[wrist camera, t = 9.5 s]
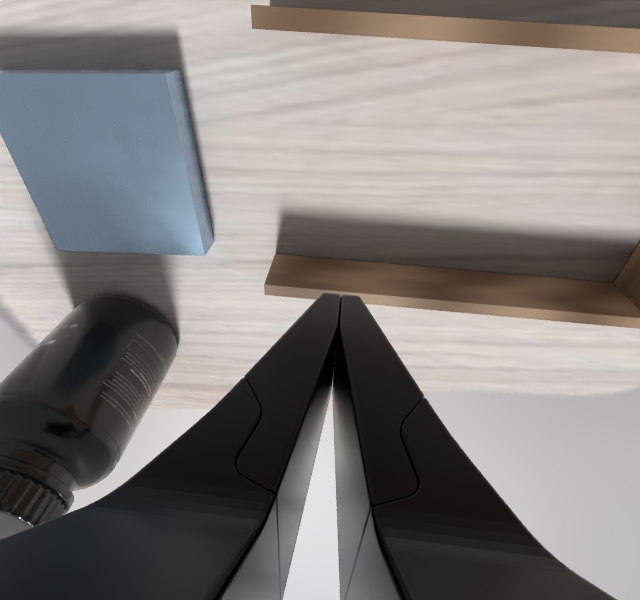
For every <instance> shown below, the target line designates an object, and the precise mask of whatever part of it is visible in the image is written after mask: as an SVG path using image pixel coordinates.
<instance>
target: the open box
mask: <svg viewBox="0 0 640 600" xmlns="http://www.w3.org/2000/svg"><path fill="white" fill-rule="evenodd" d="M251 16H252V29H266V30H282V31H298V32H313V33H329V34H344V35H360V36H376V37H391V38H407V39H423V40H438V41H454V42H470V43H485V44H501V45H516V46H532V47H548V48H563V49H579V50H595V51H610V52H626V53H640V29H634V28H618V27H602V26H586V25H570V24H553V23H537V22H521V21H505V20H488V19H472V18H456V17H440V16H424V15H407V14H391V13H375V12H359V11H343V10H326V9H310V8H294V7H278V6H261V5H251ZM264 289H265V295H273V296H284V297H295V298H306V299H318V298H319V297H320V295H321V294H322V293H335V294H340V296H342V295H344V294H345V295H356V296H359V297H360V298H361V299H362V301H363V302H364V304H373V305H384V306H395V307H406V308H417V309H428V310H439V311H451V312H462V313H473V314H484V315H495V316H506V317H517V318H528V319H539V320H551V321H562V322H573V323H584V324H595V325H606V326H617V327H628V328H639V329H640V241H639V243H638V245H637V246H636V248H635V249H634V251H633V252H632V254H631V256H630V257H629V259H628V260H627V262H626V264H625V265H624V267H623V268H622V270H621V272H620V273H619V275H618V276H617V278H616V279H615V281H614V283H610V282H599V281H587V280H575V279H564V278H552V277H540V276H529V275H517V274H505V273H494V272H482V271H471V270H459V269H447V268H436V267H424V266H412V265H401V264H389V263H377V262H366V261H354V260H342V259H331V258H319V257H307V256H296V255H284V254H275V256H274V259H273V262H272V265H271V267H270V270H269V273H268V276H267V279H266V281H265V284H264Z"/></svg>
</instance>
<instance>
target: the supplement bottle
mask: <svg viewBox="0 0 640 600" xmlns="http://www.w3.org/2000/svg"><path fill="white" fill-rule="evenodd" d="M176 352H177V343H176V338H175V335H174V333H173V331H172V329H171V327H170V326H169V324H168V323H167V322H166V321H165V320H164V319H163V318H162V317H161V316H160V315H159V314H158V313H157V312H156V311H154V310H153V309H151V308H150V307H148V306H147V305H145V304H143V303H141V302H139V301H136V300H134V299H131V298H127V297H123V296H118V295H99V296H95V297H91V298H89V299H87V300H85V301H83V302H82V303H80V304H79V305H78V306H77V307H76V308H75V309H74V310H73V311H72V312H71V313H70V314H69V315H67V316H66V317H65V318H64V319H63V320H62V322H61V323H60V324H59V325H58V326H57V327H56V328H55V329H54V330H53V331H52V332H51V333H50V334H49V335H48V336H47V337H46V338H45V339H44V340H43V341H42V342H41V343H40V344H39V345H38V346H37V347H36V348H35V349H34V350H33V351H32V352H31V353H30V354H29V355H28V356H27V357H26V358H25V359H24V360H23V361H22V362H21V363H20V364H19V365H18V366H17V367H16V368H15V369H14V370H13V371H12V372H11V373H10V374H9V375H8V376H7V377H6V378H5V379H4V380H3V381H2V382H1V383H0V539H1V538H4V537H7V536H9V535H12V534H15V533H17V532H20V531H23V530H25V529H28V528H30V527H33V526H36V525H38V524H41V523H44V522H46V521H49V520H52V519H54V518H57V517H60V516H62V515H64V514H65V513H67V512H68V510H69V509H70V507H71V505H72V503H73V501H74V496H73V493H72V491H75V490H80V489H84V488H87V487H90V486H92V485H95V484H97V483H98V482H100V481H101V480H103V479H104V478H105V477H107V476H108V475H109V474H110V473H111V472H112V471H113V469H114V468H115V466H116V464H117V463H118V461H119V459H120V458H121V456H122V454H123V452H124V450H125V449H126V447H127V445H128V443H129V441H130V440H131V438H132V436H133V434H134V432H135V431H136V429H137V427H138V425H139V423H140V422H141V420H142V418H143V416H144V414H145V412H146V411H147V409H148V407H149V405H150V403H151V402H152V400H153V398H154V396H155V394H156V392H157V391H158V389H159V387H160V385H161V383H162V382H163V380H164V378H165V376H166V374H167V373H168V370H169V369H170V367H171V365H172V363H173V361H174V359H175V356H176Z"/></svg>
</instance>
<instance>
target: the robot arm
mask: <svg viewBox="0 0 640 600" xmlns="http://www.w3.org/2000/svg"><path fill="white" fill-rule="evenodd" d="M340 302H341V303H340ZM334 363H335V364H334ZM333 372H334V374H333ZM332 381H333V419H334V446H335V473H336V496H337V497H336V499H337V525H338V552H339V579H340V600H617V599H615V598H613V597H612V596H610V595H609V594H607V593H606V592H604V591H603V590H601V589H599V588H598V587H596V586H595V585H593V584H592V583H590V582H589V581H587V580H585V579H584V578H582V577H581V576H579V575H578V574H576V573H575V572H573V571H572V570H570V569H569V568H568V567H566V566H565V565H564V564H563V563H561V562H560V561H559V560H558V559H557V558H555V557H554V556H553V555H552V554H551V553H550V552H549V551H548V550H547V549H545V548H544V547H543V546H542V545H541V543H539V542H538V540H536V538H535V537H534V536H533V535H532V534H531V533H530V532H529V531H528V530H527V528H526V527H525V526H524V525H523V524H522V522H521V521H520V520H519V519H518V518H517V516H516V515H515V514H514V513H513V512H512V510H511V509H510V508H509V507H508V505H507V504H506V503H505V502H504V500H503V499H502V498H501V497H500V496H499V495H498V493H497V492H496V491H495V490H494V488H493V487H492V486H491V485H490V483H489V482H488V481H487V480H486V479H485V477H484V476H483V475H482V474H481V472H480V471H479V470H478V469H477V468H476V466H475V465H474V464H473V463H472V462H471V460H470V459H469V458H468V456H467V455H466V454H465V452H464V451H463V450H462V449H461V448H460V446H459V445H458V443H457V442H456V441H455V440H454V438H453V437H452V436H451V435H450V433H449V432H448V430H447V429H446V427H445V426H444V424H443V423H442V421H441V420H440V419H439V417H438V416H437V414H436V413H435V411H434V410H433V408H432V407H431V405H430V404H429V402H428V401H427V399H426V398H424V395H423V393H422V391H421V390H420V388H419V387H418V385H417V384H416V382H415V381H414V379H413V378H412V376H411V375H410V373H409V371H408V370H407V368H406V367H405V365H404V364H403V362H402V361H401V359H400V358H399V356H398V355H397V353H396V351H395V350H394V348H393V347H392V345H391V344H390V342H389V341H388V339H387V338H386V336H385V335H384V333H383V332H382V330H381V328H380V327H379V325H378V324H377V322H376V321H375V319H374V318H373V316H372V315H371V313H370V312H369V310H368V308H367V307H366V305H365V304H364V302H363V301H362V299H361V298H360V297H359V296H356V295H345V294H344V295H342V296H340V294H335V293H322V294H321V295H320V297H319V298H318V299H317V300H316V301H315V302H314V303H313V304H312V305H311V306H310V307H309V308H308V309H307V310H306V311H305V312H304V314H303V315H302V316H301V317H300V318H299V319H298V320H297V321H296V322H295V323H294V324H293V325H292V326H291V327H290V328H289V329H288V330H287V332H286V333H285V334H284V335H283V336H282V337H281V338H280V339H279V340H278V341H277V342H276V343H275V344H274V345H273V346H272V347H271V349H270V350H269V351H268V352H267V353H266V354H265V355H264V356H263V357H262V358H261V359H260V360H259V361H258V362H257V363H256V364H255V365H254V367H253V368H252V369H251V370H250V371H249V372H248V373H247V374H246V375H245V377H244V378H242V379H241V380H240V381H239V382H238V383H237V384H236V385H235V387H234V388H233V389H232V390H231V391H230V392H229V393H228V394H227V395H226V396H225V397H224V398H223V399H222V400H221V401H220V402H219V403H218V404H217V405H216V406H215V407H214V408H213V409H211V410H210V411H209V412H208V413H207V414H206V415H205V416H203V417H202V418H201V419H200V420H199V421H198V422H197V423H196V424H194V425H193V426H192V427H191V428H190V429H189V430H187V431H186V432H185V433H184V434H183V435H182V436H181V437H179V438H178V439H177V440H176V441H174V442H173V443H172V444H171V445H170V446H169V447H167V448H166V449H165V450H164V451H163V452H161V453H160V454H159V455H158V456H157V457H155V458H154V459H153V460H152V461H151V462H149V463H148V464H147V465H146V466H145V467H144V468H142V469H141V470H140V471H139V472H138V473H136V474H135V475H134V476H133V477H131V478H130V479H129V480H128V481H126V482H125V483H124V484H123V485H121V486H120V487H118V488H117V489H115V490H114V491H113V492H111V493H109V494H108V495H106V496H104V497H103V498H101V499H100V500H98V501H96V502H94V503H92V504H90V505H88V506H86V507H83V508H81V509H78V510H75V511H73V512H70V513H68V514H65V515H62V516H60V517H57V518H54V519H52V520H49V521H46V522H44V523H41V524H38V525H36V526H33V527H30V528H28V529H25V530H23V531H20V532H17V533H15V534H12V535H9V536H7V537H4V538H1V539H0V600H282V599H283V595H284V591H285V586H286V582H287V578H288V573H289V569H290V565H291V560H292V556H293V552H294V547H295V543H296V539H297V535H298V530H299V526H300V522H301V518H302V513H303V509H304V505H305V500H306V496H307V492H308V488H309V483H310V479H311V475H312V470H313V466H314V462H315V458H316V454H317V449H318V445H319V441H320V436H321V432H322V428H323V423H324V419H325V415H326V411H327V406H328V402H329V398H330V393H331V388H332Z"/></svg>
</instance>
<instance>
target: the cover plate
mask: <svg viewBox="0 0 640 600" xmlns="http://www.w3.org/2000/svg"><path fill="white" fill-rule="evenodd" d="M0 133H1V136H2V138H3V140H4V142H5V144H6V146H7V148H8V150H9V152H10V154H11V156H12V158H13V160H14V163H15V165H16V167H17V169H18V171H19V173H20V175H21V177H22V179H23V181H24V183H25V185H26V187H27V189H28V192H29V194H30V196H31V198H32V200H33V202H34V204H35V206H36V208H37V210H38V212H39V214H40V216H41V218H42V221H43V223H44V225H45V227H46V229H47V231H48V233H49V235H50V237H51V239H52V241H53V243H54V245H55V247H56V250H62V251H88V252H115V253H142V254H169V255H196V256H205V255H206V254H207V252H208V251H209V249H210V248H211V246H212V244H213V243H214V237H213V232H212V227H211V222H210V217H209V212H208V207H207V202H206V197H205V192H204V186H203V181H202V176H201V171H200V166H199V161H198V156H197V151H196V146H195V141H194V136H193V131H192V125H191V120H190V115H189V110H188V105H187V100H186V95H185V90H184V85H183V80H182V75H181V70H180V69H131V70H0Z"/></svg>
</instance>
